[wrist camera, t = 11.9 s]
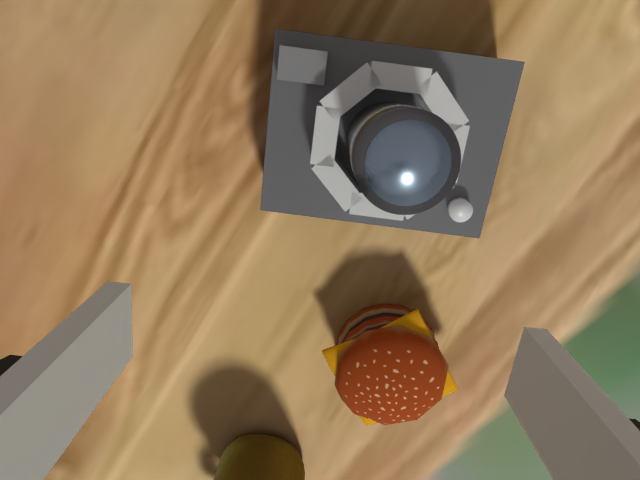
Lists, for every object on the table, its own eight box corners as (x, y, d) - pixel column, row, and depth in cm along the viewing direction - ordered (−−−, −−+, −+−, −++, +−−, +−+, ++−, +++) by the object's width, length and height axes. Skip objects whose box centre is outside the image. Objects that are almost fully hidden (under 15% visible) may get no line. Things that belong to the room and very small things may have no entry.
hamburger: (406, 282, 40) (421, 320, 33) (451, 364, 42) (473, 413, 36) (314, 328, 41) (311, 372, 35) (363, 403, 44) (368, 457, 38)
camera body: (269, 194, 37) (254, 220, 30) (283, 36, 33) (270, 23, 26) (461, 218, 37) (490, 250, 30) (497, 64, 33) (541, 60, 26)
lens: (341, 172, 31) (345, 210, 22) (351, 96, 30) (361, 100, 20) (413, 181, 31) (450, 223, 22) (428, 106, 30) (474, 114, 20)
